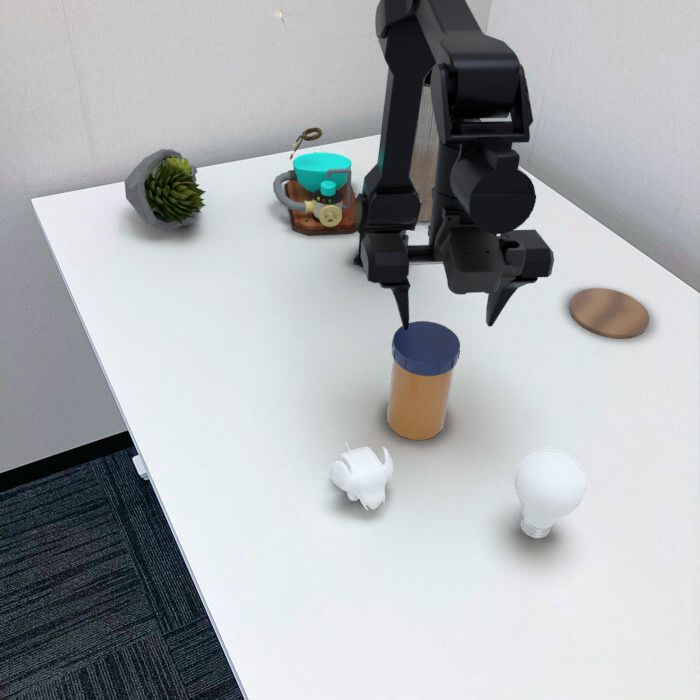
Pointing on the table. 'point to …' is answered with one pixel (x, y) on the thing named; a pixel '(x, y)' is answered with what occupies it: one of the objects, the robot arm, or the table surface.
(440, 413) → the jar
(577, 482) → the light bulb
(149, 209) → the potted plant
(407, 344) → the jar lid
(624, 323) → the coaster
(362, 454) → the elephant figurine
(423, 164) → the planter
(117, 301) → the table surface
